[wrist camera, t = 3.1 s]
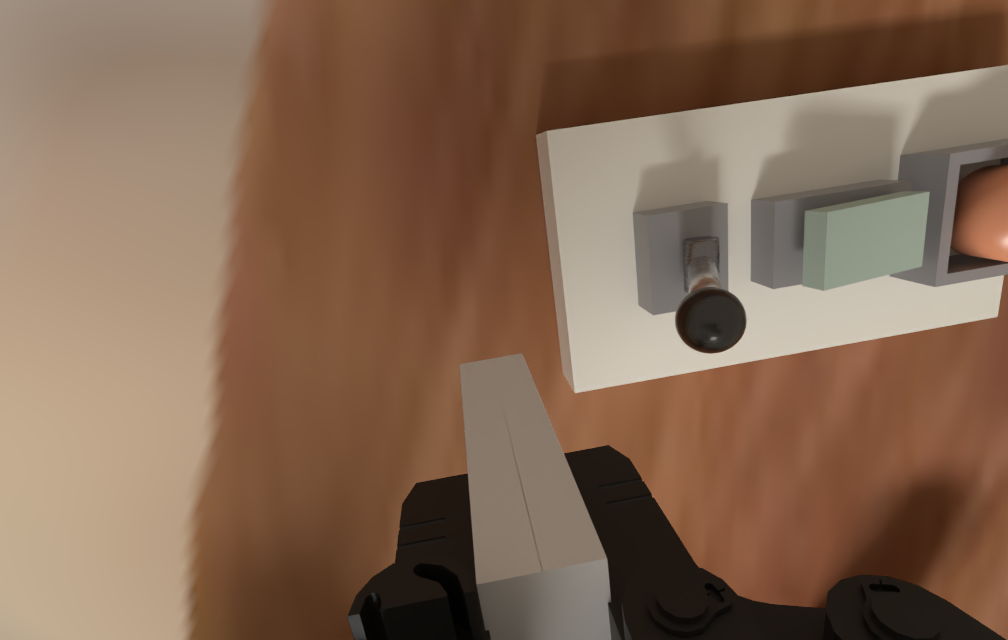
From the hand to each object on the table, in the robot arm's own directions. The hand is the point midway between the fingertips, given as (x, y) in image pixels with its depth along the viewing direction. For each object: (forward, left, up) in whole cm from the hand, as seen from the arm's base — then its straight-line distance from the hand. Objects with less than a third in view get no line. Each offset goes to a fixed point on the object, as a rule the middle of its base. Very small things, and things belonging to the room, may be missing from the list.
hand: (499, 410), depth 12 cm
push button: (+27, 0, -13) cm, 30 cm away
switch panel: (+18, 0, -18) cm, 25 cm away
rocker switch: (+19, 0, -11) cm, 22 cm away
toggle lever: (+11, 0, -11) cm, 16 cm away
